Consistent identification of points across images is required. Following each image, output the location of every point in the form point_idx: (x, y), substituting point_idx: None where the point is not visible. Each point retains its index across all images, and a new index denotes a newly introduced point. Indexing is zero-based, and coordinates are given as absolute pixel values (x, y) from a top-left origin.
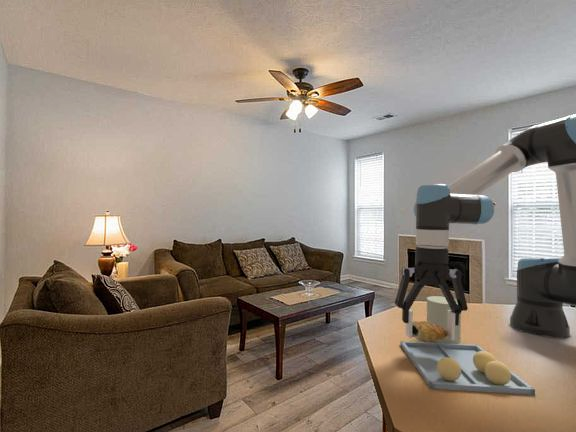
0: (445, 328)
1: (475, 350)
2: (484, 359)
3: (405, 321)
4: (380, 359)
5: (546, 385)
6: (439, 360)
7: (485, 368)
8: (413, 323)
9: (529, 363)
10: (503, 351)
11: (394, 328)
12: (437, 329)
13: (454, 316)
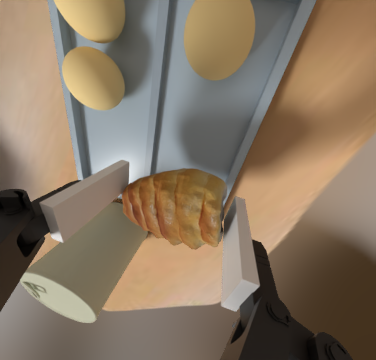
0: (109, 229)
1: (90, 175)
2: (92, 55)
3: (258, 246)
4: (299, 189)
5: (19, 22)
6: (237, 55)
7: (112, 10)
8: (219, 234)
9: (24, 121)
10: (50, 168)
11: (179, 272)
12: (150, 192)
13: (57, 195)
